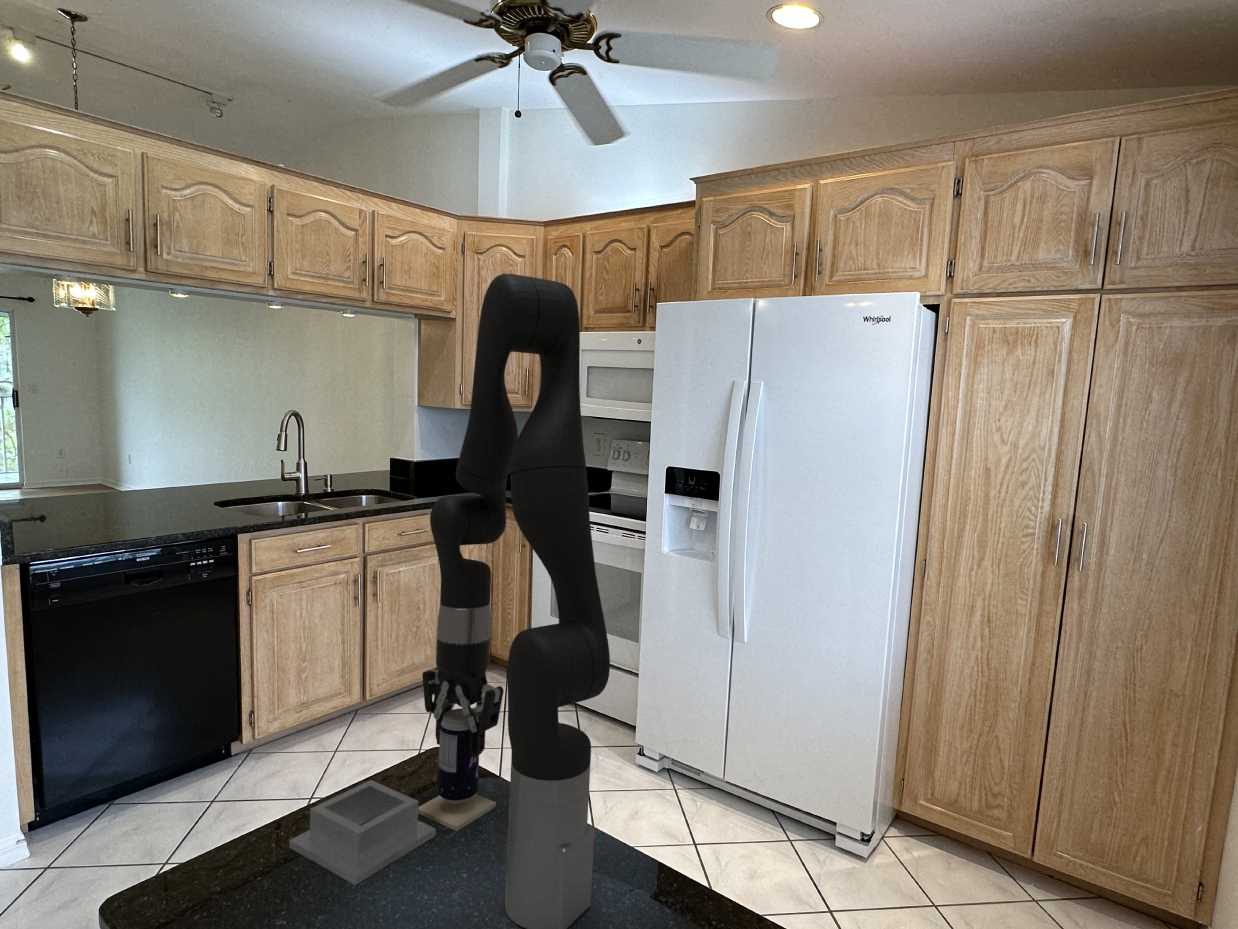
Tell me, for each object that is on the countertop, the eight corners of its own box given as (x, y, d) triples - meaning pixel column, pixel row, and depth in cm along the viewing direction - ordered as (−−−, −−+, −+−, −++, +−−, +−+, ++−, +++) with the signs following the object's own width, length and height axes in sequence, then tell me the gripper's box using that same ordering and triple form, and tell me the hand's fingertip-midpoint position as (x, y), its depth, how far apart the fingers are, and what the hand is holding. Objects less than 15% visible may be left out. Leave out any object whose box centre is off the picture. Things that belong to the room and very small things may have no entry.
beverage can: (472, 807, 100) (476, 724, 100) (432, 805, 100) (435, 721, 100) (481, 787, 106) (484, 708, 105) (443, 785, 106) (446, 706, 105)
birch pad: (495, 806, 104) (496, 802, 104) (456, 831, 98) (457, 827, 98) (456, 790, 109) (456, 786, 109) (416, 812, 102) (416, 808, 102)
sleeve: (435, 836, 96) (436, 800, 96) (355, 885, 85) (356, 845, 85) (371, 805, 103) (372, 771, 103) (289, 847, 92) (290, 810, 92)
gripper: (519, 638, 101) (514, 753, 102) (446, 619, 109) (442, 727, 110) (483, 650, 95) (478, 773, 96) (408, 630, 102) (404, 744, 103)
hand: (459, 748), depth 103 cm, fingers closed on beverage can, 5 cm apart
